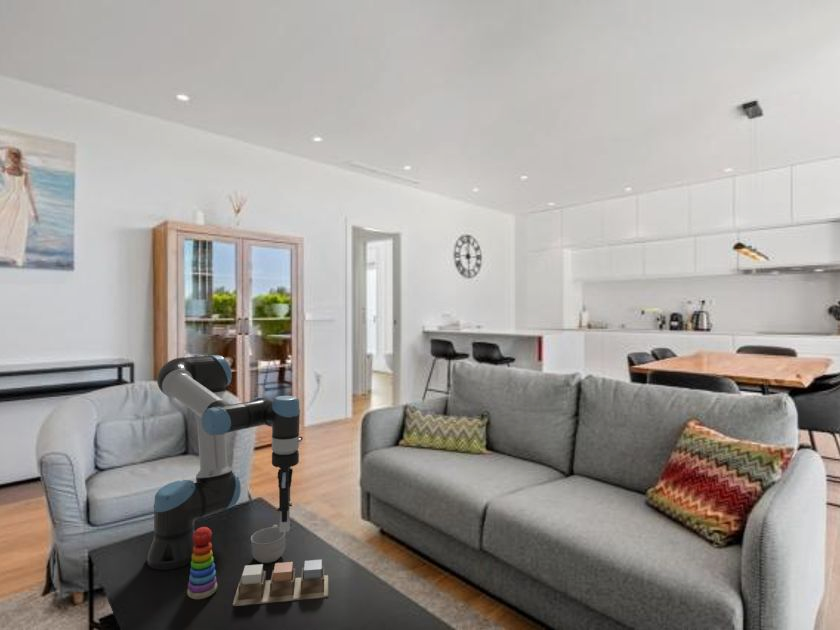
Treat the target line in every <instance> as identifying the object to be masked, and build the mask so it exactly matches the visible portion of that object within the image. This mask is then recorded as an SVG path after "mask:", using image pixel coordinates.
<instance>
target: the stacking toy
mask: <svg viewBox="0 0 840 630" xmlns="http://www.w3.org/2000/svg"><path fill="white" fill-rule="evenodd" d="M194 531H195V532H194V535H193V542H194V543H195V544H196V545H195V546H194V547H193V552H194V553H193V554H192V561H191V563H190V569H189V572H190V574H189V576H188V577H189V579H188V580H189V581H188V583H187V590H186V593H187V596H188V597H189V598H190V599H192V600H202V599H206V598H208V597H210V596H212V595H213V594H214V593H215V592H216V591H217V590H218V583H217V571H216V563H214V562H215V557H214V556H213V550H212V549H213V544H212V542H211V540H212V537H213V532H212V530H211V529H210V527H207V526H202V527H198V528H197V529H196V530H194Z"/></svg>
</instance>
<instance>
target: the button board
mask: <svg viewBox="0 0 840 630" xmlns="http://www.w3.org/2000/svg"><path fill="white" fill-rule="evenodd" d="M273 573H274V569H272V571H271V577H270V579H268V580H267V579H266V578H267V571H266V570H263V579H262V583H258V584H247V585H242V575H243V572H242V573H241V577H240V580H239V583H238V586H237V588H236V592H235V595H234V598H233V602H232V607H238V606H250V605H259V604H260V605H261V604H270V603H280V602H288V601H289V602H292V601H302V600H313V599H320V598H321V599H322V598H323V599H324V598H329V575H328V574H327V575H326V574H325V565H322V577H321V578H315V579H304V567H301V577H296V567H295V568H294V567H293V574H292V581H281V582H273Z"/></svg>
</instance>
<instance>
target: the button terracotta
mask: <svg viewBox="0 0 840 630" xmlns="http://www.w3.org/2000/svg"><path fill="white" fill-rule="evenodd" d="M293 565H294V563H293V561H286V562H276V563H275V564H274V567H273V568H274V569H273V570H274V573H273V582H281V581H292V574H293V568H294V567H293Z"/></svg>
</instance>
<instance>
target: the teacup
mask: <svg viewBox="0 0 840 630" xmlns="http://www.w3.org/2000/svg"><path fill="white" fill-rule="evenodd" d="M279 530H280V527H279V525H278V524H274V525H272V527H265V528H262V529H259V530H257V531H255V532H254V533H253V534H251V536H250V542H251V543H250V544H251V546H250V547H251V554H252V557H253V559H254V560H256V561H257V562H259V563H260V564H270V563H274V562H276V561H277V560H279V559H280V557H282V556H283V554H284V553H285V550H286V532H279Z"/></svg>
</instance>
